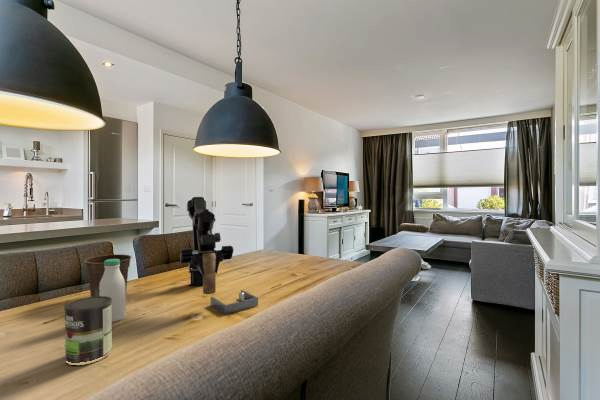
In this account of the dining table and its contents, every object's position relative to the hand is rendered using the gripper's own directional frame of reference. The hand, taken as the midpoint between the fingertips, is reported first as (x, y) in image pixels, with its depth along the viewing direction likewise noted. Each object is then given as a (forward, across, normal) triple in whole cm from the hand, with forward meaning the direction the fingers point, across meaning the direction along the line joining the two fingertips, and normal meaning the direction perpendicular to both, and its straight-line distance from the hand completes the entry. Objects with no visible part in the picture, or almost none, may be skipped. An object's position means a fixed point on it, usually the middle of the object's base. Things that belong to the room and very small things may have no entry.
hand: (209, 273), depth 113 cm
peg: (+4, 0, +6) cm, 7 cm away
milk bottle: (+5, -31, +14) cm, 35 cm away
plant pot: (-13, -35, +32) cm, 49 cm away
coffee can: (+23, -33, -4) cm, 41 cm away
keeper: (+8, +9, +11) cm, 16 cm away
